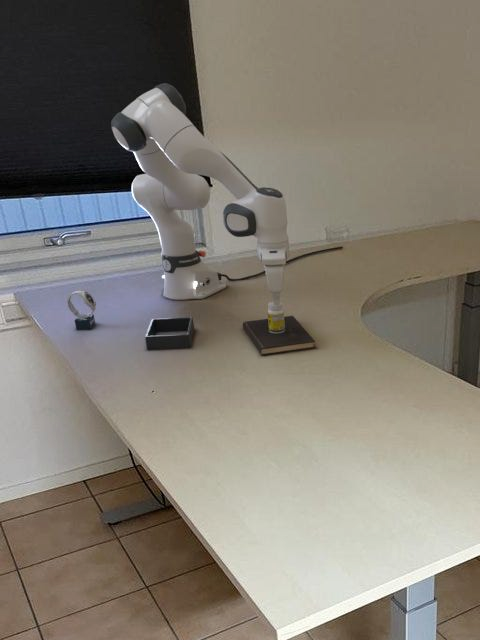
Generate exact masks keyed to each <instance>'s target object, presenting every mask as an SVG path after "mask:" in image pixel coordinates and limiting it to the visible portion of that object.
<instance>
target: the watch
mask: <svg viewBox="0 0 480 640" xmlns="http://www.w3.org/2000/svg"><path fill="white" fill-rule="evenodd" d="M74 295H78V296H79V297H81V300H82V302H83V303H84V304H85V305H86V306H87V307H88V308H90V310H91V312H90V313H79V311H78V310H77V309H76V308H75V305H74V304H73V303H72V301H71V298H72V296H74ZM66 303H67V308H68V309H69V311H70V312H71V313H72V314H73V315H74V317H76V318H74V323H75V325H74V326H75V329H76V331H89V330H90V331H91V330H92V329H93V328H94V326H95V325H96V320H95V314H94V313H95V310H96V307H97V306H96V305H97V303H96V300H95V298H94V297H93V295H92V294H91V293H89V292H88V291H85V290H75V291H73V292H72V293H71V294H69V296H68V297H67V301H66Z"/></svg>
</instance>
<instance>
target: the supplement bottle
mask: <svg viewBox="0 0 480 640" xmlns="http://www.w3.org/2000/svg"><path fill="white" fill-rule="evenodd" d="M267 307H268V310H267V319H268V323H269V331H270V332H271V333H275V334H277V333H283V332H284V331H285V321H284V317H285V311H284V309H283V302H281V301H280V305H274V300H273V301H269V302H268V305H267Z"/></svg>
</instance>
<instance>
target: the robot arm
mask: <svg viewBox="0 0 480 640" xmlns="http://www.w3.org/2000/svg"><path fill="white" fill-rule="evenodd" d="M186 115H187V106H186V103H185V101H184V99H183V96H182V95H181V93H180V92H179V91H178V90H177V88H176V87H175V86H173V85H172V84H170V83H167V82H164V83H159V84H158V85H155V86H154V87H153V88H152V89H150V90H148V91H146V92H144V93H142V94H141V95H139V96H138V97H136V98H135V100H133V101H132V102H130V103H129V104H128V105H127V106H126V107H125V108H124V109H122V111H120V112H117V113H116V114H115V116H113V118H112V119H111V122H110V127H111V128H110V129H111V131H112V133H113V136H114V138H115V140H116V141H117V143H119V145H120V146H122V147H123V148H124V149H125V150H126V151H128V152H131V153H133V154H134V157H135V160H136V161H137V163H138V166H139V167H140V169H141V170H142V172H144V173H142V174H137V175H136V176H135V178H134V179H133V181H132V183H131V194H132V198H133V200H134V201H135V203H136V204H137V205H138V206H139V207H140V208H142V209H143V210H144V211H145V212H146V213H147V214H148V215H149V216H150V218H151V219H152V221H153V222H154V224H155V227H156V229H157V232H158V237H159V243H160V247H161V248H160V249H161V252H160V256H161V264H162V268H163V275H162V276H161V278H162V279H164V280H163V294H162V296H163V297H164V298H167V299H169V300H177V301H179V300H180V301H181V300H183V301H184V300H203V299H205V298H207V297H210V296H211V295H214V294H216V293H218V292H220V291H222V290H224V289H226V288H227V284H226V283H225V282H223V281H222V277H224V278H226V279H227V281H230V282H236V281H245V280H248V279H252V278H256V277H260V276H261V275H264V274H265V276H266V282H267V287H268V291H269V293H270V294H272V297H273V299H272V300H273V301H274V305H280V302H281V294H282V293H283V291H284V282H285V281H284V278H285V277H284V276H285V265H287V264H288V263H290V262H293V261H295V260H298V259H301V258H303V257H307V256H311V255H315V254H319V253H324V252H329V251H334V250H340V249H343V248H344V247H343V246H336V247H330V248H325V249H324V248H323V249H319V250H316V251H311V252H308V253H304V254H301V255H298V256H295V257H293V258H290V259H288V258H289V257H290V244H289V241H290V240H289V236H288V232H287V229H288V228H287V227H288V212H287V205H286V200H285V196H284V195H283V193H282V192H281V191H280V190H279V189H276V188H273V187H266V186H264V187H263V186H262V187H257V186H256V185H255V184H254V183H253V182H252V181H251V180H250V178H248V177H247V176H246V175H245V174H244V173H243V171H241V169H240V168H238V166H236V164H235V163H234V162H233V161H232V160H231V159H230V158H228V156H227V155H225V154H224V153H223V152H222V151H221V150H219V149H218V148H217V147H215V146H214V145H213V144H212V142H210V141H209V140H208V139H207V138H206V137H205V136H204V135H203V134H202V133H201V131H199V130H198V129H197V127H196V126H195V125H194V124H193V122H191V120H190V119H189V118H188V117H187V116H186ZM203 176H205V177H209V178H212V179H215V180H216V181H217V182H220V184H222V186H224V188H226V190H227V191H229V192H230V193H231V194H232V195H233V196H234V198H235V199H236V200H234V201H231V202H230V203H228V204H227V205H226V206H225V207H224V209H223V211H222V222H223V225H224V227H225V229H226V231H227V232H228V233H229V234H231V235H232V236H233V237H236V238H246V237H251V236H254V237H255V239H256V251H257V253H256V254H257V258H258V259H259V260H260V262H261V264H262V266H263V267H264V270H262V271H260V272H259V273H256V274H253V275H252V274H251V275H247V276H245V277H240V278H230V277H229V276H228V275H227V274H224V273H221V272H218V271H217V270H216V269H215V268H214V267H211V266H210V265H208V264H207V263H205V262H204V261H203V260H202V259H201V258H205V257H206V256H207V252H206V251H205V250H197V249H196V242H195V234H194V229H193V228H192V225H191V224H189V222H188V221H185V220H184V219H182V218H181V217H180V216H179V214H177V212H176V211H194V210H195V211H197V210H200V209H201V210H202V209H204V208H205V207H206V206H207V205H209V201H210V198H211V188H210V185H209V183H208V181H207V180H206V179H205V177H203Z"/></svg>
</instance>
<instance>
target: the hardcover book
mask: <svg viewBox="0 0 480 640" xmlns="http://www.w3.org/2000/svg"><path fill="white" fill-rule="evenodd" d="M284 321H285V331H284V332H283V333H277V334H275V333H271V332H270V331H269V323H268V318H263V319H256V320H247V321H243V322H242V328H243V330H244V332H245V334H247V336H248V337H249V339H250V340H251V342H252V344H253V345H254V346H255V348H256V349H257V351H258V353H260V355H261V356H263V357H265V356H269V355H270V356H271V355H278V354H286V353H291V352H299V351H306V350H313V349H316V346H315V344H314V343H315V342H316V340H315V339H314V338H313V337H312V335H310V333H309V332H308V331H307V330H306V328H304V326H303V325H302V324H301V323H300V321H298V320H297V319H296V317H295V316H294V315H287V316H284Z"/></svg>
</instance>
